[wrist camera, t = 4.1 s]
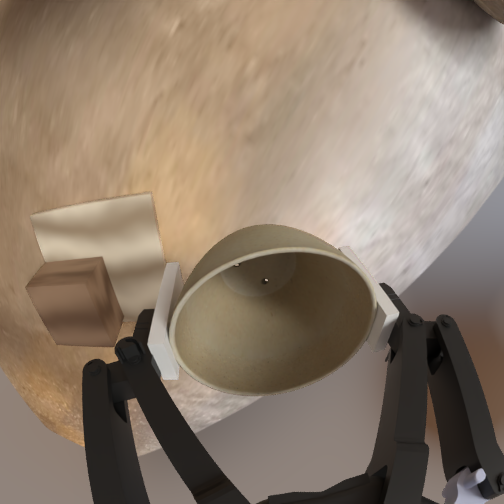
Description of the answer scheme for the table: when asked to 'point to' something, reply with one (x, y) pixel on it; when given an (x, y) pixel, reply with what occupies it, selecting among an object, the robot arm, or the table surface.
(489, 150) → the table surface
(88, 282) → the pedestal
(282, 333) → the flower pot
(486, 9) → the bowl
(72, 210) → the board
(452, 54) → the table surface
